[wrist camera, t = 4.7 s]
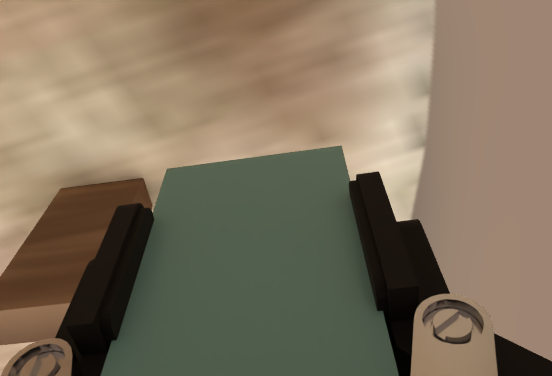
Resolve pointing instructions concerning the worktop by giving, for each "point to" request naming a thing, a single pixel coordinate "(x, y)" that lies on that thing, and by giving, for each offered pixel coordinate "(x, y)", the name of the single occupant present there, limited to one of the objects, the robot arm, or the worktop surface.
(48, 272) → the walnut domino
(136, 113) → the worktop surface
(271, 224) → the teal domino
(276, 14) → the worktop surface
